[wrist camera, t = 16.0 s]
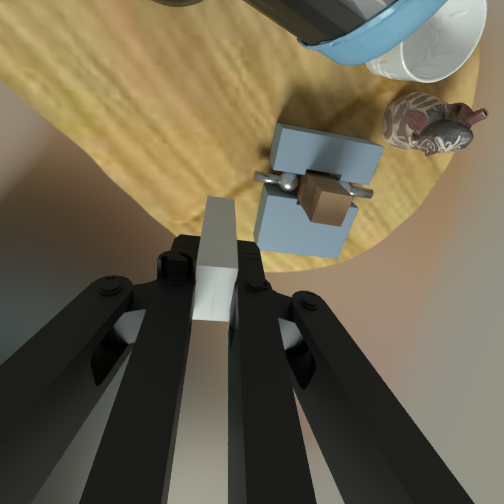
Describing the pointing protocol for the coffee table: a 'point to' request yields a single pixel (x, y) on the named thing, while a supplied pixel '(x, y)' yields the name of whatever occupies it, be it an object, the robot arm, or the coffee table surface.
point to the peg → (322, 198)
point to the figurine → (429, 124)
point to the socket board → (297, 161)
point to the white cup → (436, 44)
